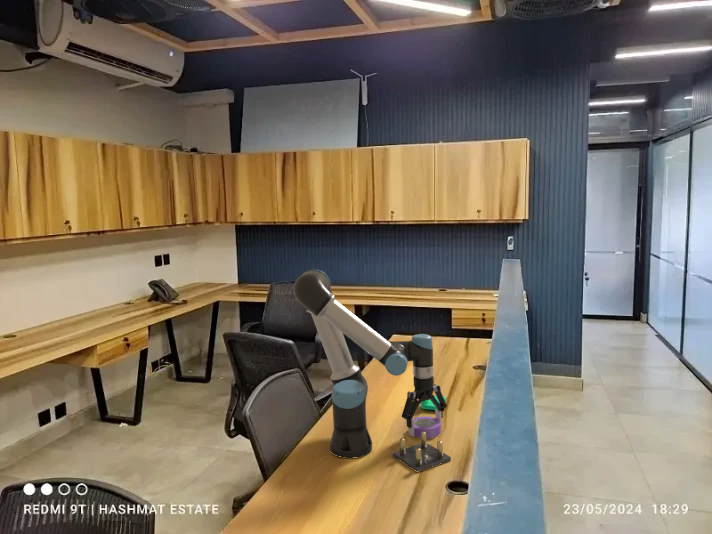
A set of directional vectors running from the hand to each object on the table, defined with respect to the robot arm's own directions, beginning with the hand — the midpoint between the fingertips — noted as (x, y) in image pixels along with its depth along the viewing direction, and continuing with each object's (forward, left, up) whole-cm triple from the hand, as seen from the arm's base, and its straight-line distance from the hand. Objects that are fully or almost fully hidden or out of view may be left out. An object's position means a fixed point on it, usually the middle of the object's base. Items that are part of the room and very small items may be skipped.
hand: (425, 431), depth 201 cm
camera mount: (+18, +18, -1) cm, 26 cm away
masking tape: (0, 0, -1) cm, 1 cm away
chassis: (-14, -16, 0) cm, 21 cm away
